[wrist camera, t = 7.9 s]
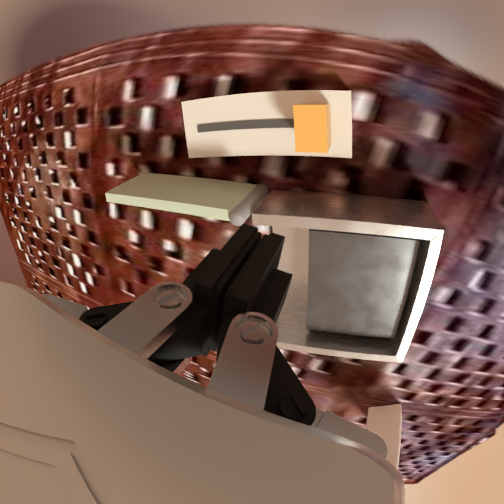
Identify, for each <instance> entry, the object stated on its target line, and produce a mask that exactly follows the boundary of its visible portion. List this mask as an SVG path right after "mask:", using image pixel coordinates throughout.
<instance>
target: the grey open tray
mask: <svg viewBox="0 0 504 504" xmlns="http://www.w3.org/2000/svg"><path fill="white" fill-rule="evenodd" d="M252 219H253V225H265V226H272V230H273V233H275V234H279V235H282V236H285V240H284V245H283V249H282V253H281V257H280V261H279V265H278V270H281V271H284V272H287V273H291V274H293V276H292V280H291V283H290V287H289V290H288V293H287V296H286V299H285V302H284V305H283V307H282V310H281V312H280V315H279V317H278V320H277V322H276V326H277V329H278V338H277V343H276V345H277V347H278V348H282V349H288V350H294V351H300V352H307V353H314V354H322V355H329V356H337V357H346V358H355V359H364V360H375V361H387V362H401V363H402V362H403V359H404V357H405V355H406V352H407V350H408V347H409V345H410V343H411V340H412V337H413V335H414V332H415V329H416V327H417V324H418V321H419V318H420V316H421V313H422V310H423V307H424V304H425V301H426V298H427V294H428V291H429V288H430V285H431V281H432V278H433V274H434V271H435V267H436V263H437V259H438V255H439V251H440V247H441V243H442V238H443V234H444V229H443V227H442V225H441V224H440V222H439V220H438V218H437V217H436V215H435V213H434V211H433V210H432V208H431V206H430V204H429V203H428V202H427V201H419V200H411V199H402V198H392V197H382V196H372V195H360V194H348V193H334V192H318V191H300V190H277V189H272V190H271V191H270V193H269V194H268V195H267V196H266V197H265V199H264V200H263V201H262V202H261V204H260V205H259V206H258V207H257V208H256V210H255V211H254V212H253V213H252Z"/></svg>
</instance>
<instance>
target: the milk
mask: <svg viewBox="0 0 504 504" xmlns="http://www.w3.org/2000/svg"><path fill="white" fill-rule="evenodd" d="M401 429H402V412H401V404H393V405H385V406H377V407H369V408H368V416H367V424H366V430H368V431H371V432H373V433H375V434H377V435H378V436H380V437H381V438H382V439H383V440H384V442H385V443H386V446H387V450H388V451H387V456H386V460H387V461H389V462H390V463H391V464H392V465H393V466H394V467H395V468H396V469H397V470H398V465H399V455H400V444H401Z"/></svg>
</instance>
